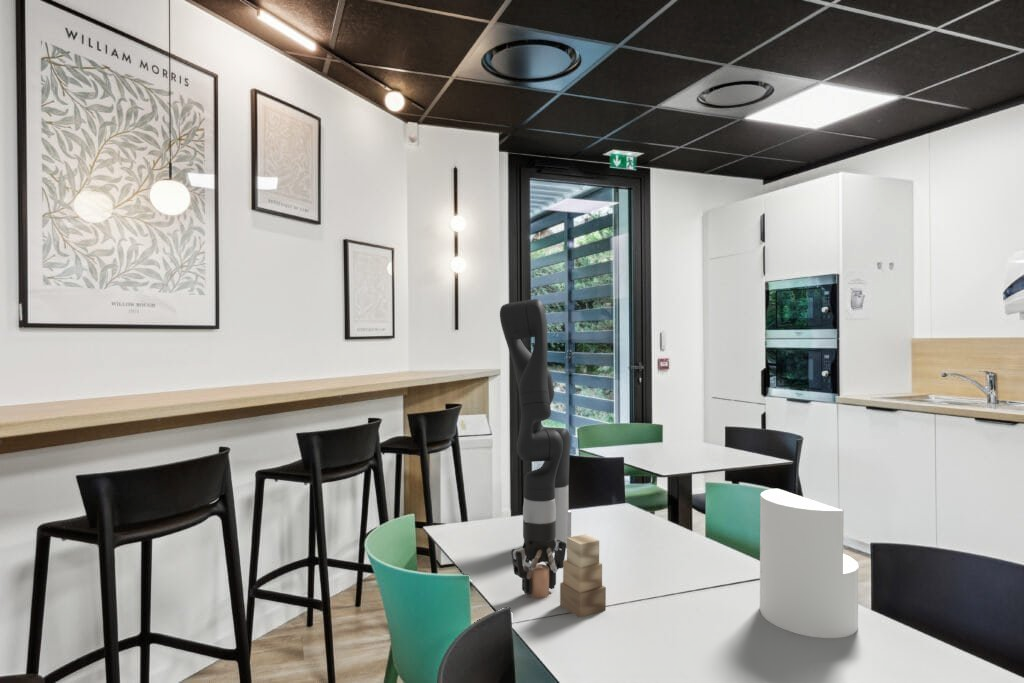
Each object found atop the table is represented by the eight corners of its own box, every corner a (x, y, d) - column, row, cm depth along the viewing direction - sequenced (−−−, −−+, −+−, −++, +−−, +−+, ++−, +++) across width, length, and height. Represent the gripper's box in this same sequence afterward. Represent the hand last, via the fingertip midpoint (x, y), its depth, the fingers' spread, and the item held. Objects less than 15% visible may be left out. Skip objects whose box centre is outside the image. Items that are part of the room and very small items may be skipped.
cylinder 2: (796, 642, 120) (797, 513, 120) (742, 601, 138) (743, 489, 138) (880, 633, 124) (881, 508, 124) (816, 595, 142) (817, 486, 142)
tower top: (585, 556, 138) (585, 534, 138) (599, 563, 134) (599, 540, 134) (566, 560, 136) (566, 537, 136) (580, 567, 132) (580, 544, 132)
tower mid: (584, 577, 139) (585, 555, 139) (602, 587, 134) (602, 563, 134) (563, 583, 136) (563, 560, 136) (579, 592, 131) (579, 569, 131)
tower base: (585, 598, 140) (585, 576, 140) (605, 610, 134) (605, 587, 134) (560, 605, 136) (560, 582, 136) (579, 617, 130) (579, 594, 130)
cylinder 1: (541, 588, 146) (541, 562, 145) (553, 595, 142) (553, 568, 142) (525, 592, 143) (525, 566, 143) (536, 599, 139) (536, 572, 139)
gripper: (555, 509, 149) (555, 579, 149) (504, 517, 142) (503, 591, 142) (574, 516, 143) (574, 589, 143) (521, 526, 135) (521, 603, 135)
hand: (539, 590), depth 142 cm, fingers open, 5 cm apart
